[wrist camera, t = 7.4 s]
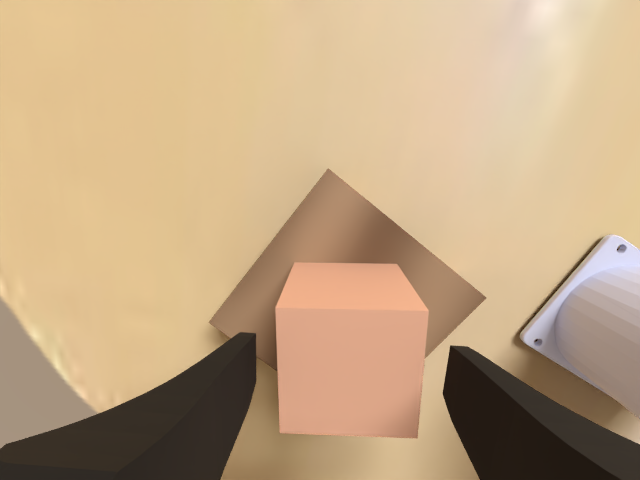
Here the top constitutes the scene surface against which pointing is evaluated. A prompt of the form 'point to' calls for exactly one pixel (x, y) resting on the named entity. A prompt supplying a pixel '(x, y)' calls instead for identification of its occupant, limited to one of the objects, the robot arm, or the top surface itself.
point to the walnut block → (342, 247)
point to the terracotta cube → (350, 351)
